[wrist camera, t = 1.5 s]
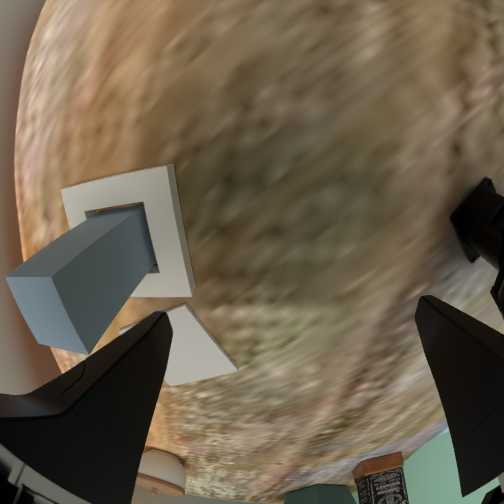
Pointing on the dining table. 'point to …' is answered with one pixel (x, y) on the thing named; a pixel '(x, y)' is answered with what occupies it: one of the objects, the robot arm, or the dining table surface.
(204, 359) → the grey mat
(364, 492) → the whiskey bottle
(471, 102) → the dining table surface
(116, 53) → the dining table surface
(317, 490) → the flower pot
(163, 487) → the lidded bowl
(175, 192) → the pocket holder
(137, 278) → the slate-blue block
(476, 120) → the dining table surface
